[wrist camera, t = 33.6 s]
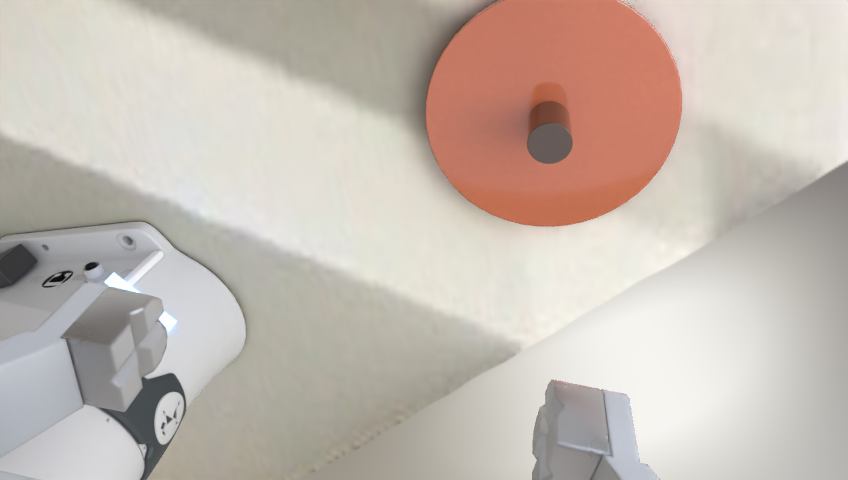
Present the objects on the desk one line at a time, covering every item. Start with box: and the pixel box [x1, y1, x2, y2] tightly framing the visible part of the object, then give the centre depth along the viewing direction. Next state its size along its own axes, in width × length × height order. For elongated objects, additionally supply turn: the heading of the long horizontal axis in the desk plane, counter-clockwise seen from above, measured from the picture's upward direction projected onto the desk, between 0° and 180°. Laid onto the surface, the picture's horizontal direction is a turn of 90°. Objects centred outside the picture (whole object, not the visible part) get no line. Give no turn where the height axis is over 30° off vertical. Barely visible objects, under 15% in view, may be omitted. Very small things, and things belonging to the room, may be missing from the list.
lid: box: [425, 0, 682, 226], centre depth 37 cm, size 16×16×5 cm
